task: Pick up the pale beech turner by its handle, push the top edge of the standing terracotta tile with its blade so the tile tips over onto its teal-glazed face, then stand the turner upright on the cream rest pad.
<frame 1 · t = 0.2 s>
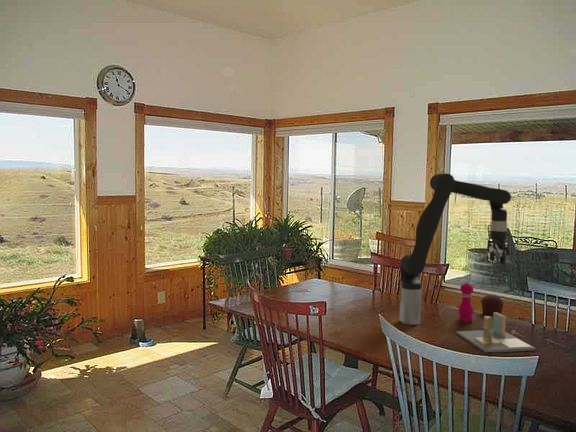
hand: (497, 262, 237), 29 cm above the table, fingers open, 8 cm apart
pepper mill: (465, 320, 237), on the table
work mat: (494, 341, 206), on the table
muffin: (491, 314, 248), on the table
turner: (487, 342, 202), point 1 cm above the table, touching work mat
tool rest: (513, 343, 201), resting on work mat
tile: (498, 334, 213), point 1 cm above the table, touching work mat
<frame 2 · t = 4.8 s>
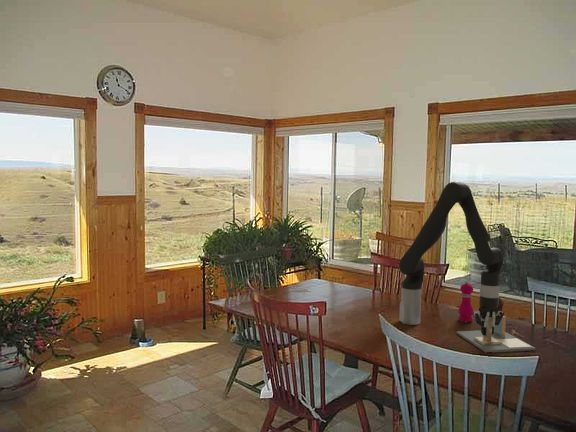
hand: (487, 334, 202), 4 cm above the table, fingers closed on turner, 2 cm apart
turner: (487, 341, 202), point 1 cm above the table, touching gripper
everything else where it was.
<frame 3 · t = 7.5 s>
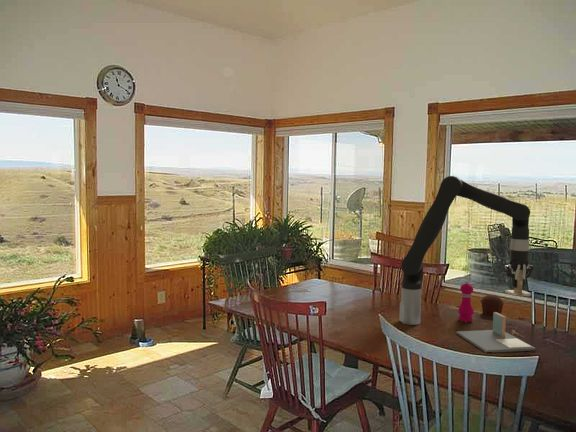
hand: (518, 287, 212), 22 cm above the table, fingers closed on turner, 2 cm apart
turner: (517, 293, 212), point 19 cm above the table, touching gripper
everything else where it was.
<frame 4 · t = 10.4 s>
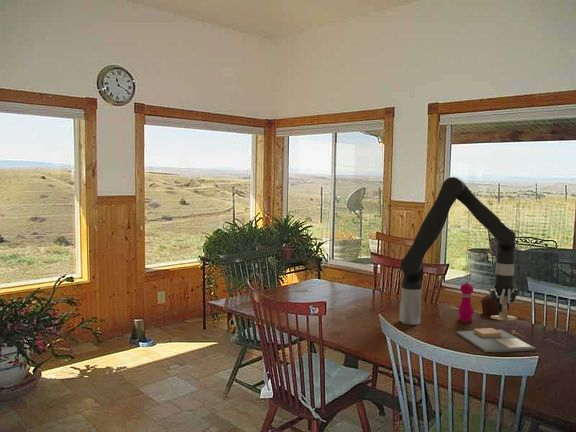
hand: (502, 311, 212), 11 cm above the table, fingers closed on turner, 2 cm apart
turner: (503, 318, 212), point 8 cm above the table, tilted 9°, touching gripper
tile: (496, 332, 213), point 2 cm above the table, tilted 90°, touching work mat
everything else where it was.
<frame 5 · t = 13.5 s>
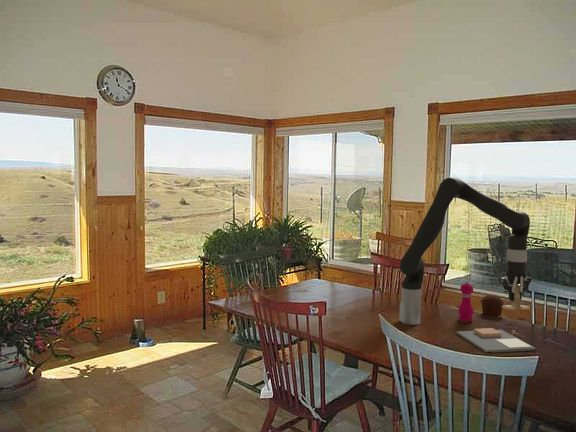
hand: (515, 300, 199), 20 cm above the table, fingers closed on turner, 2 cm apart
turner: (515, 308, 199), point 16 cm above the table, tilted 9°, touching gripper
everything else where it was.
when the fingers open (5 cm above the table, at t = 16.1 s): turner stays where it is, resting on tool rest.
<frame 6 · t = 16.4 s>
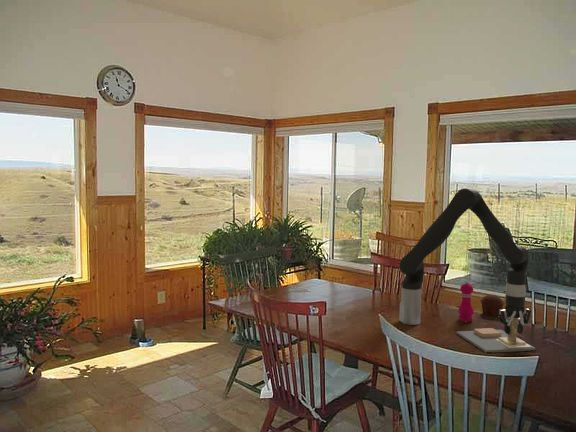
hand: (513, 333, 200), 5 cm above the table, fingers open, 5 cm apart
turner: (511, 342, 202), point 1 cm above the table, touching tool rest
everything else where it was.
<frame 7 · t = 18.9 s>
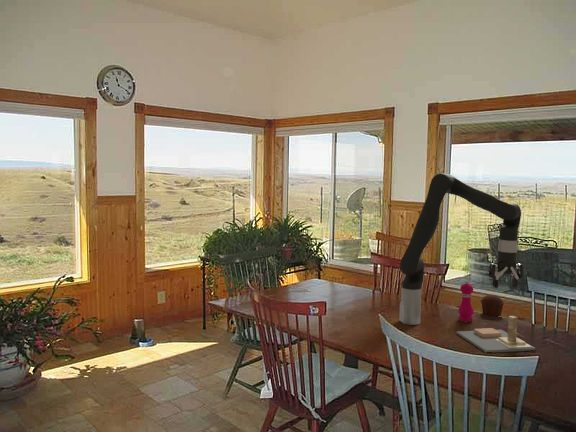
hand: (504, 287, 203), 24 cm above the table, fingers open, 8 cm apart
nothing on the table moved.
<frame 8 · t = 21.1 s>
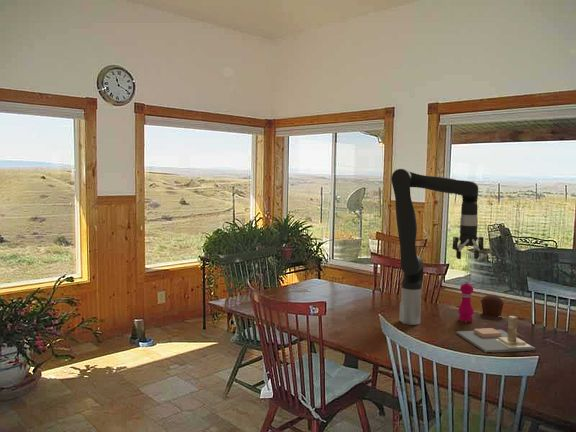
hand: (467, 258, 222), 33 cm above the table, fingers open, 8 cm apart
nothing on the table moved.
at the end: tile tilted 90°; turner inside the target area (0.9 cm from its centre), point 1.3 cm above the table; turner tilted 0° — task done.
